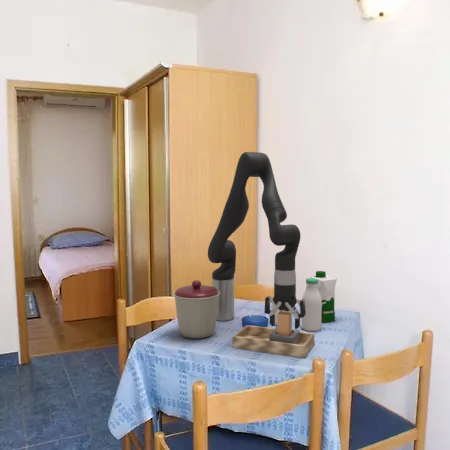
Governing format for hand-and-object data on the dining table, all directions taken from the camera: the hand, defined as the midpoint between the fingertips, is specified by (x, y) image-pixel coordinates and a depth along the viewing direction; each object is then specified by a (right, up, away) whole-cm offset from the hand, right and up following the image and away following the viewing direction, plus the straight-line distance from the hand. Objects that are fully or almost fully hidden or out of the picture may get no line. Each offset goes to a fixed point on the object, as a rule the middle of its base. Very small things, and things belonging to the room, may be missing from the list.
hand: (284, 327), depth 168 cm
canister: (-32, -6, +15) cm, 36 cm away
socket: (0, -7, +1) cm, 7 cm away
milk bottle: (+13, -5, +21) cm, 25 cm away
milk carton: (+20, -4, +32) cm, 38 cm away
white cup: (+2, -5, +28) cm, 29 cm away
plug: (0, -7, +1) cm, 7 cm away
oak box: (-4, -7, +2) cm, 8 cm away
